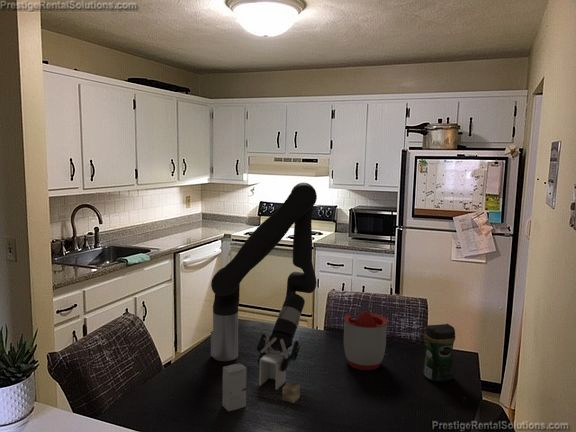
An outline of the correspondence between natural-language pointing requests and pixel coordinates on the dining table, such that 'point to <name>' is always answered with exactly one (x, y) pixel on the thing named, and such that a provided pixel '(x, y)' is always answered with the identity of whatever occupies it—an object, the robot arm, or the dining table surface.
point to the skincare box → (234, 387)
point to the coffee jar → (439, 352)
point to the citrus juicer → (365, 340)
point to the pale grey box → (272, 369)
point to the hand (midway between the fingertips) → (270, 368)
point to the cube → (291, 392)
